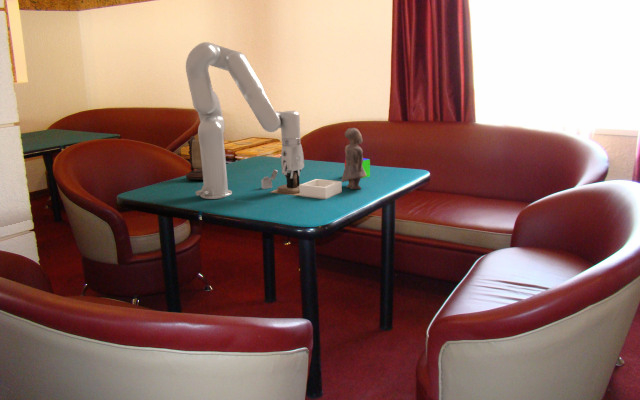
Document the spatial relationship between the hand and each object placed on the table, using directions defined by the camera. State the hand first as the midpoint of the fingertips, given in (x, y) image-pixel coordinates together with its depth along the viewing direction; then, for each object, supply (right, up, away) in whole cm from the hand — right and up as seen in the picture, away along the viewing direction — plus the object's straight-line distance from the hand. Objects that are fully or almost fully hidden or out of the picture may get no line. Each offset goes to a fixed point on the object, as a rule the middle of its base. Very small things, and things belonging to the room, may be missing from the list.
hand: (293, 186), depth 231 cm
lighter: (-10, -1, +7) cm, 12 cm away
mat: (0, -2, +1) cm, 2 cm away
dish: (+11, -4, -8) cm, 14 cm away
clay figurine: (+25, -1, +2) cm, 25 cm away
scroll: (-44, +4, +32) cm, 54 cm away
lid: (0, -2, 0) cm, 2 cm away
